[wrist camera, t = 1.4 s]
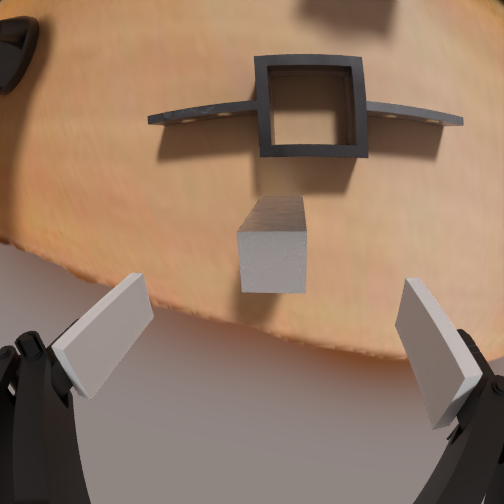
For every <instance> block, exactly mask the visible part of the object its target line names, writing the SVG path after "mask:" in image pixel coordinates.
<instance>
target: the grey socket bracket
mask: <svg viewBox="0 0 504 504" xmlns="http://www.w3.org/2000/svg"><path fill="white" fill-rule="evenodd" d="M254 65H255V80H256V95H257V100H254V101H241V102H231V103H222V104H214V105H207V106H200V107H193V108H187V109H181V110H176V111H170V112H165V113H160V114H156V115H151V116H148V124H150V125H164V126H168V125H174V124H180V123H187V122H194V121H200V120H208V119H216V118H225V117H235V116H247V115H258V128H259V146H260V157H290V156H322V157H355V158H368V124H367V116H377V117H385V118H395V119H403V120H410V121H417V122H423V123H429V124H435V125H440V126H464V125H463V117H459V116H455V115H451V114H447V113H442V112H437V111H432V110H427V109H422V108H416V107H410V106H403V105H396V104H388V103H380V102H370V101H366V92H365V81H364V72H363V63H362V57H355V56H343V55H323V54H286V55H266V56H254ZM275 76H336V77H344V84H345V96H346V111H347V132H348V145H322V144H291V145H275V131H274V114H273V98H272V83H271V77H275Z"/></svg>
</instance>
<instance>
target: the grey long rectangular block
mask: <svg viewBox="0 0 504 504" xmlns="http://www.w3.org/2000/svg"><path fill="white" fill-rule="evenodd" d="M237 239H238V251H239V264H240V276H241V288H242V292H253V293H305V292H306V258H307V228H306V219H305V210H304V202H303V194H269V195H261V197H260V198H259V200H258V201H257V203H256V204H255V205H254V207H253V208H252V210H251V211H250V213H249V214H248V216H247V217H246V219H245V220H244V222H243V223H242V225H241V226H240V228H239V229H238V231H237Z"/></svg>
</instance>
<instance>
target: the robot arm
mask: <svg viewBox="0 0 504 504" xmlns="http://www.w3.org/2000/svg"><path fill="white" fill-rule="evenodd" d="M0 1H1V0H0ZM37 37H38V22H37V20H36V19H35V18H33V17H29V16H19V17H14V18H9V19H4V20H0V95H6V94H8V93H9V92H11V91H12V90H13V89H14V87H15V86H16V85H17V84H18V82H19V81H20V79H21V78H22V76H23V74H24V72H25V70H26V68H27V66H28V64H29V62H30V60H31V57H32V54H33V52H34V49H35V45H36V42H37ZM153 318H154V315H153V312H152V308H151V304H150V300H149V296H148V292H147V288H146V284H145V279H144V275H143V273H131V274H130V275H128V276H127V277H126V278H125V279H124V280H123V281H121V282H120V283H119V284H118V285H117V286H116V287H114V288H113V289H112V290H111V291H110V292H109V293H108V294H107V295H105V296H104V297H103V298H102V299H101V300H100V301H99V302H98V303H96V304H95V305H94V306H93V307H92V308H91V309H90V310H89V311H88V312H87V313H85V314H84V315H83V316H82V317H81V318H79V319H77V320H76V321H75V322H74V323H72V324H71V325H70V327H68V328H67V329H66V330H65V331H64V332H63V333H62V334H61V335H60V336H59V337H58V338H57V339H56V340H55V341H53V342H52V343H51V345H49V346H48V347H47V348H45V346H44V344H43V342H42V340H41V338H40V336H39V334H38V333H37V332H36V331H28V332H26V333H23V334H22V335H20V336H19V337H18V338H17V339H16V341H15V345H16V347H17V348H18V350H19V352H20V354H21V355H18V353H17V351H16V349H15V348H14V347H13V346H10V345H9V346H4V347H2V348H1V349H0V504H91V503H90V499H89V496H88V492H87V488H86V484H85V479H84V475H83V470H82V465H81V461H80V455H79V450H78V443H77V436H76V428H75V420H74V409H73V396H72V393H71V391H70V389H71V387H72V386H74V388H75V390H76V391H77V393H78V394H79V395H80V396H82V397H85V398H87V399H90V400H92V398H93V397H94V395H95V394H96V393H97V391H98V390H99V388H100V387H101V386H102V384H103V383H104V382H105V380H106V379H107V378H108V376H109V375H110V374H111V372H112V371H113V370H114V368H115V367H116V366H117V364H118V363H119V362H120V360H121V359H122V358H123V356H124V355H125V354H126V352H127V351H128V350H129V348H130V347H131V346H132V344H133V343H134V342H135V341H136V339H137V338H138V337H139V336H140V334H141V333H142V332H143V330H144V329H145V328H146V326H147V325H148V324H149V323H150V321H151V320H152V319H153ZM395 327H396V329H397V331H398V334H399V336H400V338H401V341H402V343H403V346H404V348H405V351H406V353H407V356H408V358H409V361H410V364H411V366H412V369H413V372H414V374H415V377H416V380H417V382H418V386H419V389H420V391H421V394H422V397H423V400H424V404H425V407H426V410H427V413H428V416H429V420H430V423H431V426H432V429H437V428H442V427H446V426H449V425H450V423H451V422H452V421H453V419H454V418H455V417H456V416H457V419H458V422H459V424H458V425H457V426H456V428H455V429H454V430H453V431H452V433H451V434H450V435H449V436H448V438H447V440H449V439H450V438H451V439H450V441H449V443H448V445H447V447H446V449H445V451H444V453H443V455H442V457H441V459H440V461H439V463H438V464H437V466H436V468H435V470H434V472H433V473H432V475H431V477H430V478H429V480H428V482H427V483H426V485H425V487H424V488H423V490H422V491H421V493H420V494H419V496H418V497H417V499H416V500H415V502H414V503H413V504H481V503H482V501H483V498H484V496H485V494H486V496H485V500H484V504H504V377H503V376H500V375H494V373H493V371H492V370H491V368H490V367H489V364H488V363H487V361H486V360H485V358H484V356H483V355H482V353H481V352H480V350H479V348H478V347H477V346H476V344H475V342H474V341H473V339H472V338H471V336H470V335H469V334H467V333H466V332H465V331H464V330H462V329H458V330H456V329H455V327H454V326H453V324H452V323H451V321H450V320H449V318H448V317H447V315H446V314H445V312H444V311H443V309H442V308H441V307H440V305H439V304H438V302H437V301H436V300H435V298H434V297H433V295H432V294H431V293H430V291H429V290H428V289H427V287H426V286H425V285H424V283H423V282H422V281H421V279H420V278H406V279H405V284H404V289H403V294H402V299H401V303H400V307H399V312H398V316H397V320H396V324H395ZM9 383H10V385H11V386H12V387H13V389H14V391H15V394H14V396H13V395H12V394H11V392H10V391H9V389H8V386H9Z"/></svg>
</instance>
